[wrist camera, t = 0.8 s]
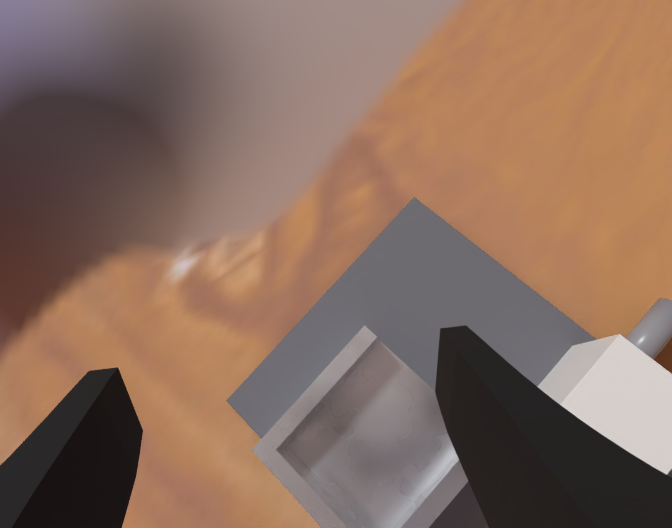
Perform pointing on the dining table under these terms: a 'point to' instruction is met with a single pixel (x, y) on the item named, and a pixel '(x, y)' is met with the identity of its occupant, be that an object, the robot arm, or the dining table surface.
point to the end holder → (365, 444)
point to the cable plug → (622, 387)
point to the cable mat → (414, 323)
